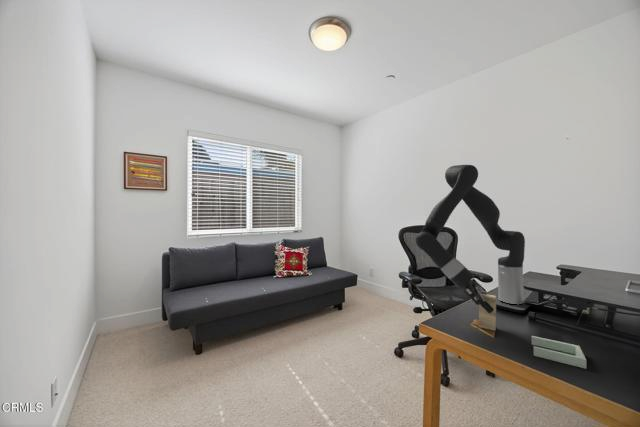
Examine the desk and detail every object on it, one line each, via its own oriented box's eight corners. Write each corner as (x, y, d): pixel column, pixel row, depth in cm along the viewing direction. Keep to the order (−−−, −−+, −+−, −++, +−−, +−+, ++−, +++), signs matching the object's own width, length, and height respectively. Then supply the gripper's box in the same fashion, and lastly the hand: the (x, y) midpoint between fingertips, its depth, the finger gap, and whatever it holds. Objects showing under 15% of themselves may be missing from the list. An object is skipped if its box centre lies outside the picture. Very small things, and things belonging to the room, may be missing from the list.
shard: (494, 340, 86) (494, 335, 86) (468, 334, 90) (468, 329, 90) (495, 327, 95) (495, 323, 95) (471, 322, 99) (471, 318, 99)
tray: (531, 343, 82) (531, 335, 82) (579, 353, 76) (579, 345, 76) (533, 355, 76) (533, 347, 75) (586, 368, 69) (586, 359, 69)
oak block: (480, 321, 96) (479, 293, 96) (496, 325, 93) (495, 295, 93) (478, 326, 92) (478, 297, 92) (495, 330, 89) (495, 299, 89)
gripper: (461, 270, 91) (501, 308, 84) (466, 262, 102) (501, 296, 96) (445, 282, 94) (482, 320, 87) (452, 274, 105) (485, 306, 99)
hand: (492, 307), depth 92 cm, fingers open, 8 cm apart
